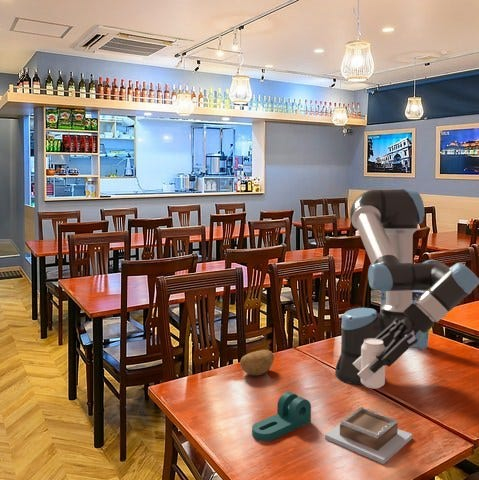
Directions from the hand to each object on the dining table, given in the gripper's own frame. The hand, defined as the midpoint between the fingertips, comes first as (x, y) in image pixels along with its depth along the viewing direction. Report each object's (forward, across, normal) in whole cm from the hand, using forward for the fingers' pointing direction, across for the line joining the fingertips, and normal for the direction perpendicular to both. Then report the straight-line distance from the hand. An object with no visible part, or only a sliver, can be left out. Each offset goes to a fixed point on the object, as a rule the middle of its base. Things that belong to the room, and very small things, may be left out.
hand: (358, 372), depth 130 cm
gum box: (-10, +74, -36) cm, 83 cm away
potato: (+32, +42, +6) cm, 53 cm away
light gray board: (+11, 0, -15) cm, 19 cm away
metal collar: (+8, 0, -12) cm, 15 cm away
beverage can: (0, 0, -5) cm, 5 cm away
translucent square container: (+10, 0, -14) cm, 18 cm away
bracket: (+28, +5, +1) cm, 28 cm away
